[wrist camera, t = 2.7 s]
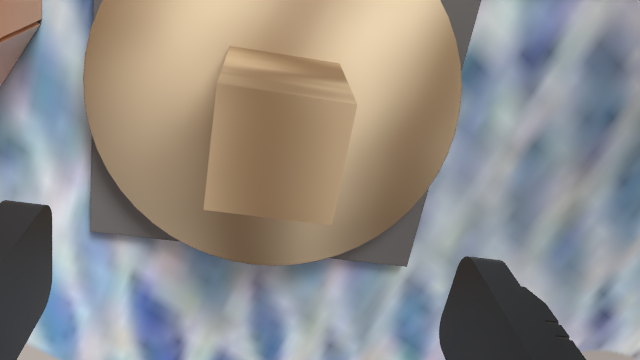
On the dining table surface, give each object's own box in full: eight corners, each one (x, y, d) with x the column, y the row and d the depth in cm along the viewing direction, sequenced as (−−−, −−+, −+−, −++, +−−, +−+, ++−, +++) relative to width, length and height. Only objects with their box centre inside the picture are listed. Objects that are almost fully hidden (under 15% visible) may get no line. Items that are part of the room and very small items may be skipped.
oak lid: (497, -59, 21) (579, -49, 15) (406, 266, 26) (442, 361, 21) (96, -138, 19) (20, -160, 13) (90, 230, 24) (35, 325, 19)
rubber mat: (491, -60, 21) (497, -59, 21) (404, 259, 27) (406, 266, 26) (100, -137, 19) (95, -138, 19) (94, 224, 25) (90, 231, 24)
